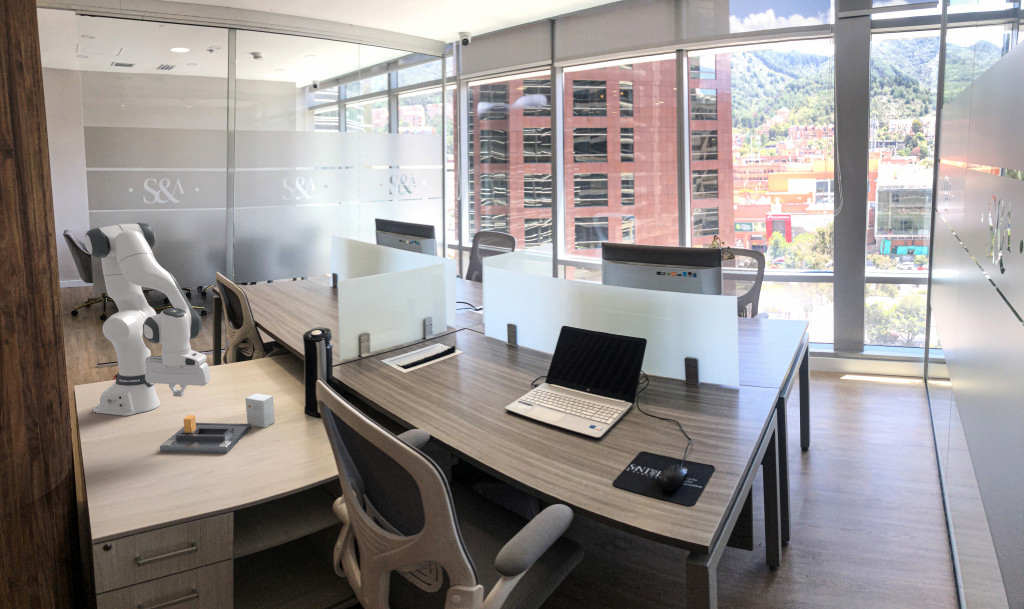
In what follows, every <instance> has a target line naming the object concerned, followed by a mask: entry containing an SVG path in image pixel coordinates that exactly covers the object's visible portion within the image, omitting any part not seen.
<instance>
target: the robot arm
mask: <svg viewBox="0 0 1024 609" xmlns="http://www.w3.org/2000/svg"><path fill="white" fill-rule="evenodd" d="M84 246H85V248H86V250H87V252H88V254H89V255H90V256H92V257H93V258H99V259H101V268H102V274H103V279H104V283H105V288H106V289H105V290H106V293H107V296H108V297H109V298H111V299H112V300H113V301H114V303H115V305H116V308H117V309H118V312H116V313H113V314H111V315H110V316H109V318H107V319H106V320H105V321H104V322H103V324H102V333H103V335H104V337H105V339H107V340H108V341H110V342H111V344H112V346H113V348H114V351H115V353H116V358H117V365H118V373H116V374H115V375H114V376H112V381H113V380H115V382H114V383H113V384H112V385H110V386H109V387H108V388H106V389H105V390H104V391H103V392H102V393H101V394H100V397H99V403H98V404H97V405H95V406H94V407H93V413H95V412H96V413H97V414H105V415H113V416H115V415H116V416H122V417H123V416H124V417H127V416H131V415H135V414H139V413H145V412H149V411H152V410H155V409H157V408H158V407H159V406H160V405H161V402H160V399H159V397H158V393H157V391H156V386H155V384H159V385H160V384H161V385H168V388H169V389H170V390H171V391H172V397H180V398H183V397H184V396H185V390H186V388H187V386H200V387H201V386H202V387H204V386H206V385H207V384H208V383H210V382H211V381H210V380H211V375H210V367H209V364H208V363H207V362H206V360H207V355H206V354H204V353H201V352H198V351H196V350H193V349H192V346H191V343H190V340H193V339H196V338H197V337H199V335H200V334H201V332H202V330H203V327H204V325H203V320H202V317H201V316H200V314H199V313H198V312H197V311H196V310H195V309H194V307H193V306H192V304H191V302H190V300H189V299H188V297H187V296H186V294H185V293H184V291H183V289H182V288H181V286H180V284H179V283H178V281H177V279H176V278H175V276H174V275H173V273H172V272H170V271H168V270H166V269H165V268H164V267H162V266H161V265H160V264H159V263H158V260H157V259H156V258H155V255H154V253H153V250H152V249H153V248H154V247H155V246H156V234H155V231H154V229H153V228H152V226H150V225H149V223H144V222H136V223H119V224H115V225H109V226H103V227H95V228H92V229H89V230H87V231H86V233H85V235H84ZM142 287H143V288H149V289H153V290H157V291H158V292H161V293H162V294H164V295H165V296H166V297H167V298H168V300H169V303H170V304H171V305H172V307H168V308H165V309H163V310H162V311H161V312H160V313H158V314H157V312H156V310H155V309H154V308H153V307H152V306H150V305H149V303H148V300H147V299H146V297H145V294H144V292H143V290H142ZM143 337H144V338H145V339H146V340H147V341H148V342H149V343H152V344H161V349H160V350H161V355H152V352H151V350H150V349H149V348H148V347H147V346H146V344H145V341H144V338H143ZM176 385H178V386H179V388H181V389H180V390H179V389H177V387H176ZM96 413H95V414H96Z"/></svg>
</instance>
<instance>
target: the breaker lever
mask: <svg viewBox="0 0 1024 609" xmlns="http://www.w3.org/2000/svg"><path fill="white" fill-rule="evenodd" d="M196 423H197V422H196V415H195V414H194V415H192V414H191V415H190V414H187V416H185V417H184V418H183V427H184V431H183V432H182V434H198V433H199V428H196Z"/></svg>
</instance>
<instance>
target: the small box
mask: <svg viewBox="0 0 1024 609" xmlns="http://www.w3.org/2000/svg"><path fill="white" fill-rule="evenodd" d="M245 407H246V408H245V409H246V410H245V411H246V422H247V423H246V424H252V427H259V428H263V429H265V428H267V427H269V426H271V425H272V424H275V422H276V420H275V419H276V418H275V404H274V396H273V395H269V394H261V393H253V394H251V395H248V396H247V397H245Z"/></svg>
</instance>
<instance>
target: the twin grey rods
mask: <svg viewBox="0 0 1024 609" xmlns="http://www.w3.org/2000/svg"><path fill="white" fill-rule="evenodd" d="M196 425H217V426H248V431H249V430H251V428H253V426H252V424H247V423H233V422H232V423H231V422H230V423H228V422H227V423H226V422H225V423H224V422H223V423H222V422H221V423H218V422H196Z"/></svg>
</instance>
